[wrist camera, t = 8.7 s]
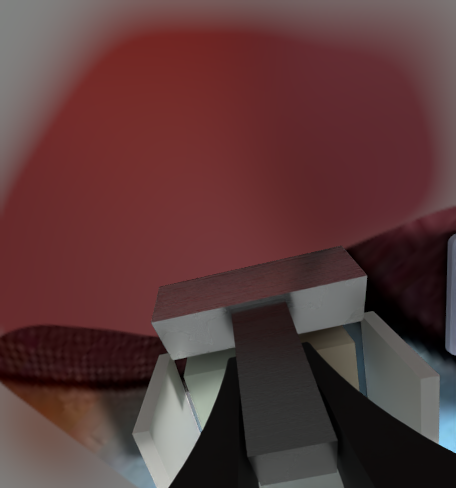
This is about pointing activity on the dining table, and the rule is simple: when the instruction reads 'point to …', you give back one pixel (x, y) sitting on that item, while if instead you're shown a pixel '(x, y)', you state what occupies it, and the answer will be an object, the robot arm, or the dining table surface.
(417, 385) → the corral
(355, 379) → the chip
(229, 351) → the pale green block
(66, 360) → the dining table surface
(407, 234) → the dining table surface
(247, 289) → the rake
